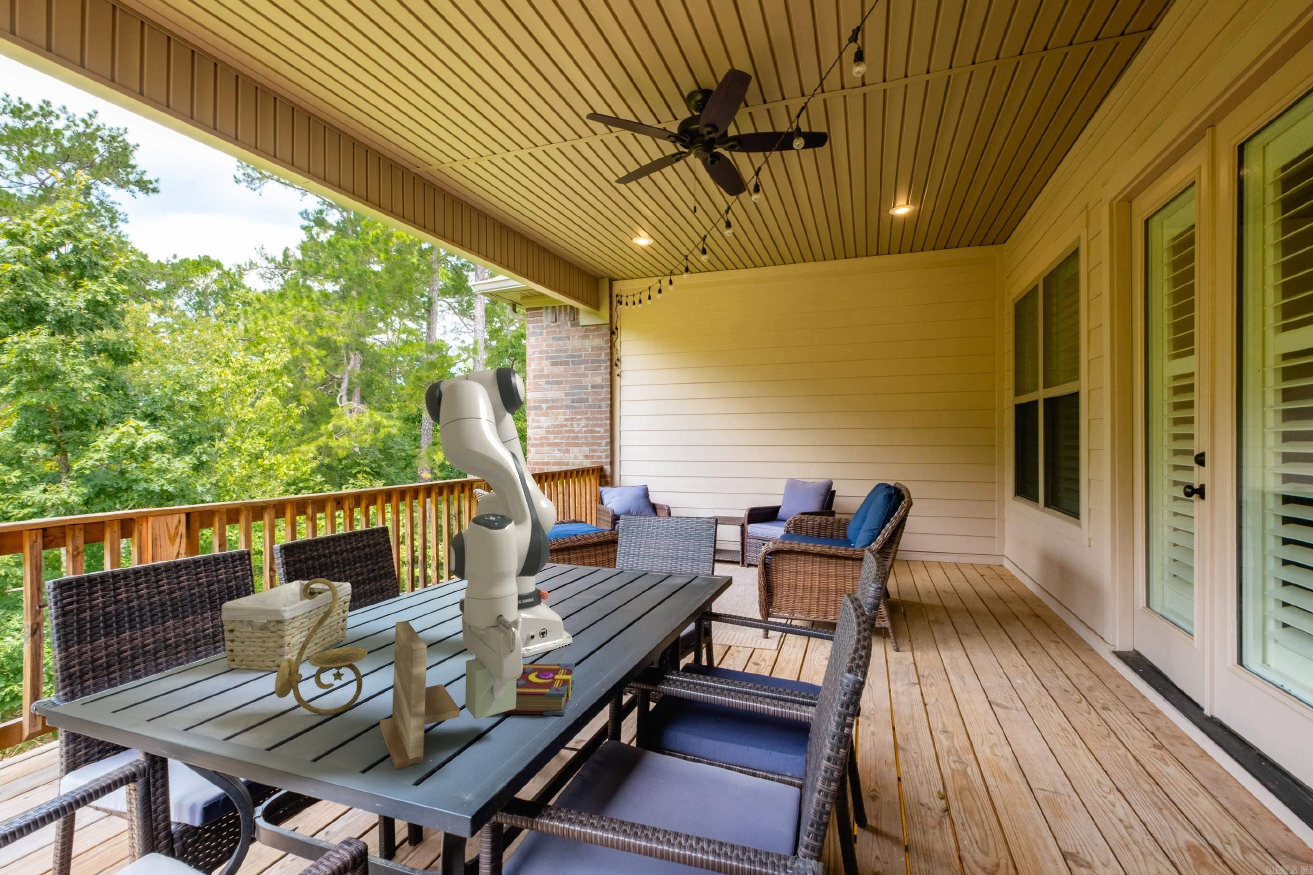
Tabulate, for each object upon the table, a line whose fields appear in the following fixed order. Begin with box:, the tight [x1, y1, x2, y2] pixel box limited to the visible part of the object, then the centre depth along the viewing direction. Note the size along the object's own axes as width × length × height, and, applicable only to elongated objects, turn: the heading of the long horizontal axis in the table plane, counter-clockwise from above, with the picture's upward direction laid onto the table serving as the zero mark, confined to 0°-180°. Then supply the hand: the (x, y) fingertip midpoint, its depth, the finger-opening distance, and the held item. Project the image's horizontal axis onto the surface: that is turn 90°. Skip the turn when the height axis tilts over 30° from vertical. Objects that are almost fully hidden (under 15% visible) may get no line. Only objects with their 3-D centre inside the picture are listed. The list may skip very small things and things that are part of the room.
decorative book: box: [504, 663, 576, 717], centre depth 113 cm, size 11×16×5 cm
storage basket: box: [220, 580, 352, 672], centre depth 133 cm, size 24×16×15 cm
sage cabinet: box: [465, 658, 516, 721], centre depth 98 cm, size 8×6×10 cm
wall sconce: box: [274, 577, 368, 716], centre depth 103 cm, size 14×10×25 cm
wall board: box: [379, 620, 461, 770], centre depth 96 cm, size 10×16×18 cm, turn 34°
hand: (490, 688), depth 97 cm, fingers closed on sage cabinet, 5 cm apart
